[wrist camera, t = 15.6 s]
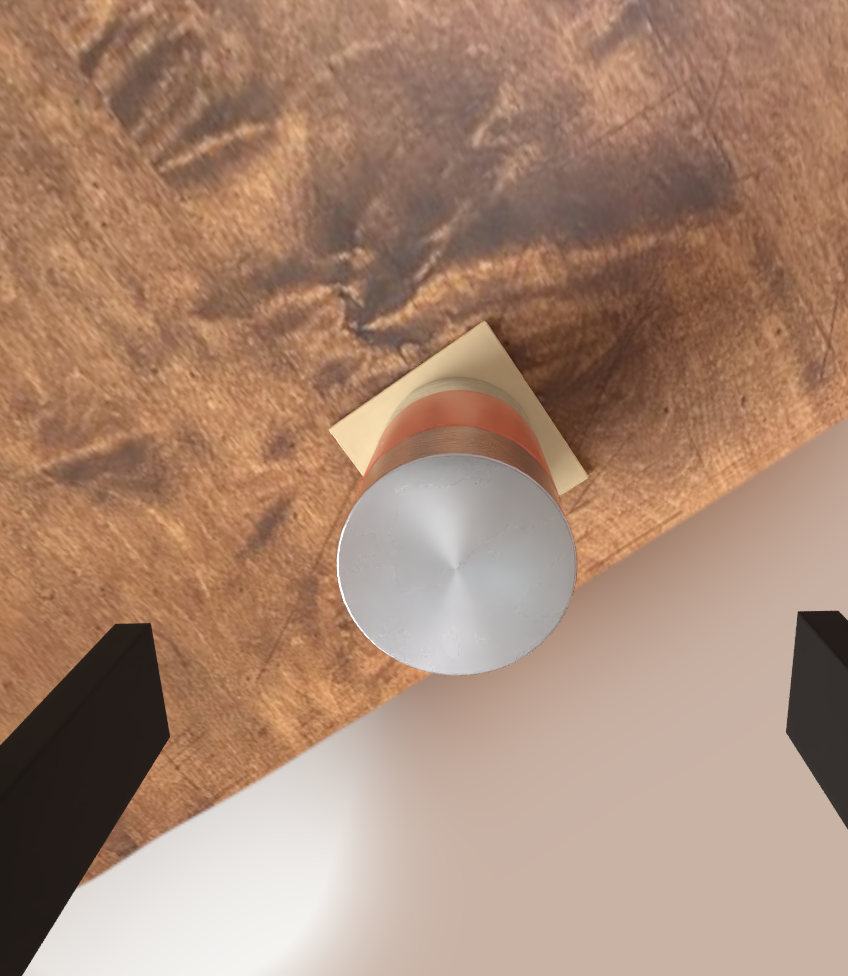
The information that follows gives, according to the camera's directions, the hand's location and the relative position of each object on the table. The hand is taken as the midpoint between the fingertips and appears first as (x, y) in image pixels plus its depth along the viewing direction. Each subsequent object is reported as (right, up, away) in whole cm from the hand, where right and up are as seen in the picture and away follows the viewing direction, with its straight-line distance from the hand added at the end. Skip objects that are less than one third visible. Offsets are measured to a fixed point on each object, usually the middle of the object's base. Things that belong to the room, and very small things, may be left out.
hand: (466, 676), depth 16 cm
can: (+1, +5, +17) cm, 18 cm away
